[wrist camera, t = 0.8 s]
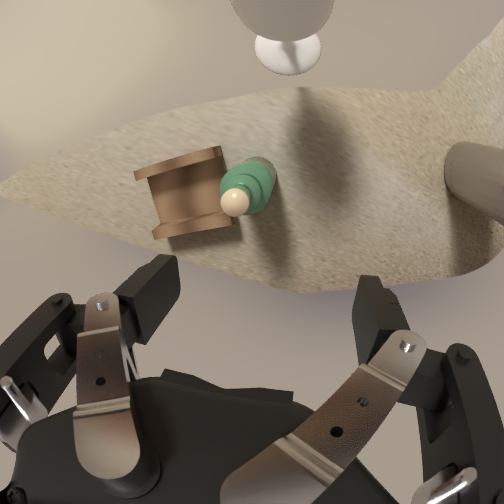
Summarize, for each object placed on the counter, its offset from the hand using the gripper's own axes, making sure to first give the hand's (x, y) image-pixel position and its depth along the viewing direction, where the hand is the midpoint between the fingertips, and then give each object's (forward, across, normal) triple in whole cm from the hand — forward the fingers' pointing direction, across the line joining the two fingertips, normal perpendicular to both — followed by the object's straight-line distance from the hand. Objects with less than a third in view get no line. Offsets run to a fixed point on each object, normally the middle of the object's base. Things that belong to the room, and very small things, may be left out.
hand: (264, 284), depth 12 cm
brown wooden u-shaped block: (+27, +15, +2) cm, 31 cm away
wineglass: (+28, +1, -18) cm, 33 cm away
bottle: (+27, +5, 0) cm, 28 cm away
